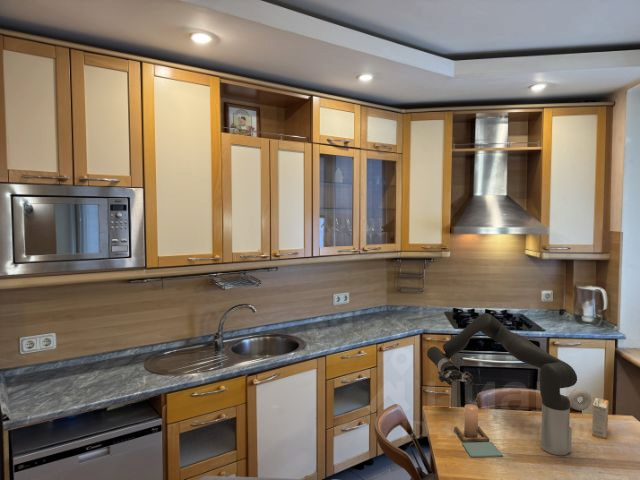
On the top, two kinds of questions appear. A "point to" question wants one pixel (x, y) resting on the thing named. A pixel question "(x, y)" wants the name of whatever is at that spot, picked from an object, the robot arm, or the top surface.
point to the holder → (472, 440)
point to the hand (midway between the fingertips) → (460, 383)
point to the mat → (482, 449)
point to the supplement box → (600, 418)
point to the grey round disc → (585, 401)
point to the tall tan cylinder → (471, 421)
